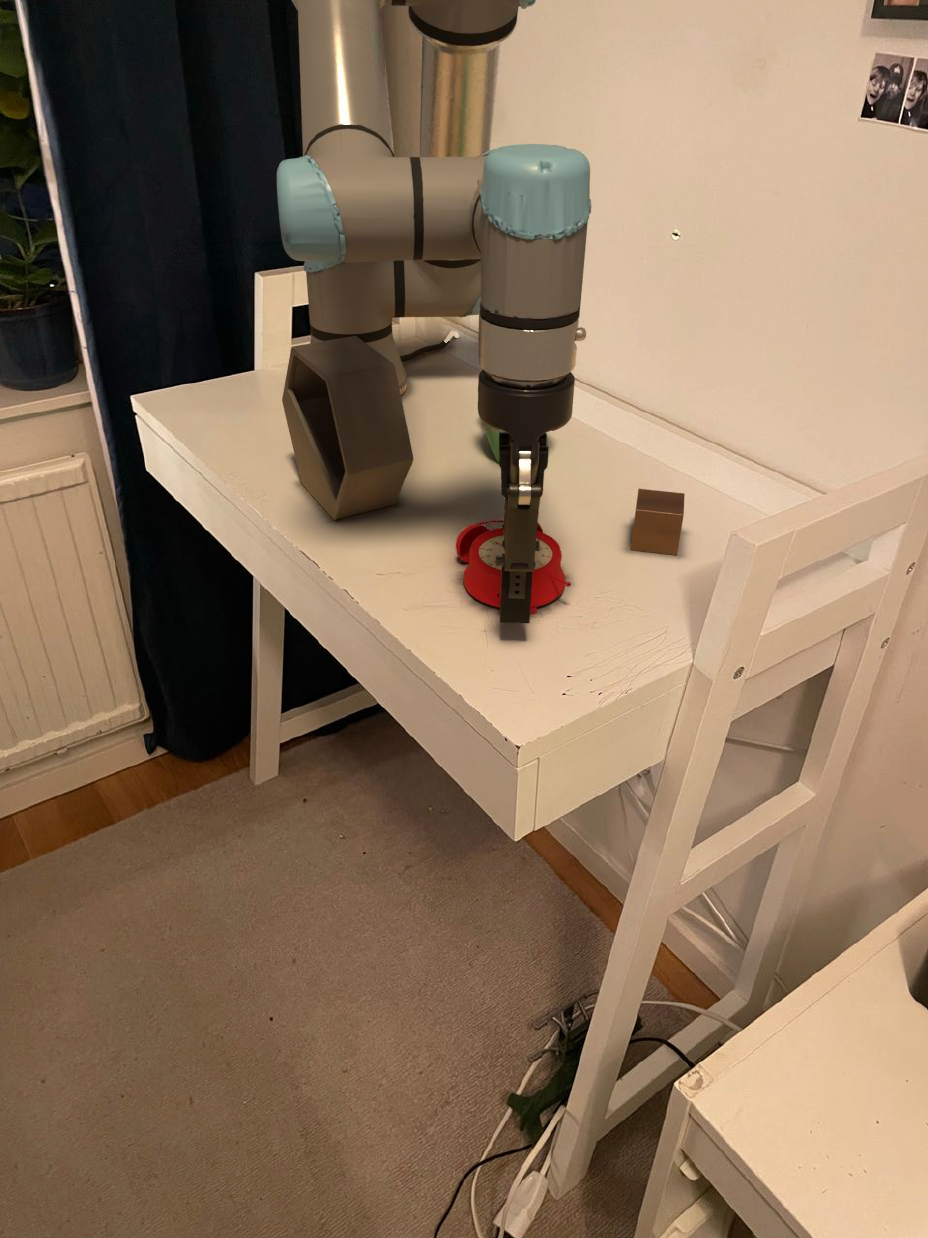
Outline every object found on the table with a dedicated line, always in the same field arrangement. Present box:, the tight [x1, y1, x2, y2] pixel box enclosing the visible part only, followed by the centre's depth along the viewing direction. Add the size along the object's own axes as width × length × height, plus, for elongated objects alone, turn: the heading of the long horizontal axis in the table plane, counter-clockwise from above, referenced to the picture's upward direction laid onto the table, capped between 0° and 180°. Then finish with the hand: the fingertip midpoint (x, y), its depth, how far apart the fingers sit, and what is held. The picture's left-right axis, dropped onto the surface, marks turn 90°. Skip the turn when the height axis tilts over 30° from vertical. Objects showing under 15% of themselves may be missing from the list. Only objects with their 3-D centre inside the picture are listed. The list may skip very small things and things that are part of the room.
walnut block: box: [630, 488, 686, 556], centre depth 102 cm, size 5×5×5 cm
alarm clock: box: [455, 519, 572, 614], centre depth 96 cm, size 10×6×15 cm
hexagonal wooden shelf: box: [281, 336, 414, 521], centre depth 106 cm, size 17×8×21 cm
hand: (514, 618), depth 86 cm, fingers closed
